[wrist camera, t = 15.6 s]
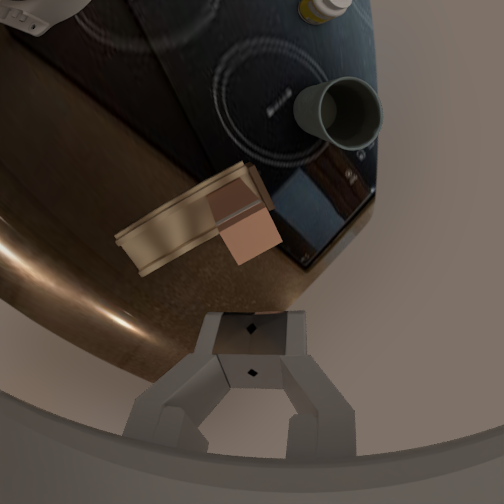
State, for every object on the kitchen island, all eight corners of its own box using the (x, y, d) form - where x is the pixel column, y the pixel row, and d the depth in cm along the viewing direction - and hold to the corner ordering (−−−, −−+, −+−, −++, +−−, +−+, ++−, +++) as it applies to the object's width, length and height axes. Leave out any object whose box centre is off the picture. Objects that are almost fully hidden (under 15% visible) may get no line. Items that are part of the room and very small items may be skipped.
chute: (144, 274, 53) (143, 285, 49) (114, 234, 48) (111, 243, 45) (270, 204, 52) (276, 211, 49) (247, 157, 48) (252, 161, 45)
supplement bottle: (317, -6, 37) (345, -23, 28) (332, 20, 40) (363, 8, 31) (290, 2, 37) (315, -16, 29) (306, 29, 40) (334, 16, 31)
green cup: (333, 145, 50) (372, 159, 40) (279, 129, 47) (310, 138, 37) (348, 92, 46) (390, 93, 36) (295, 72, 43) (330, 65, 33)
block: (220, 221, 51) (238, 265, 38) (205, 195, 48) (218, 232, 35) (253, 203, 50) (283, 241, 37) (239, 176, 48) (266, 206, 35)
